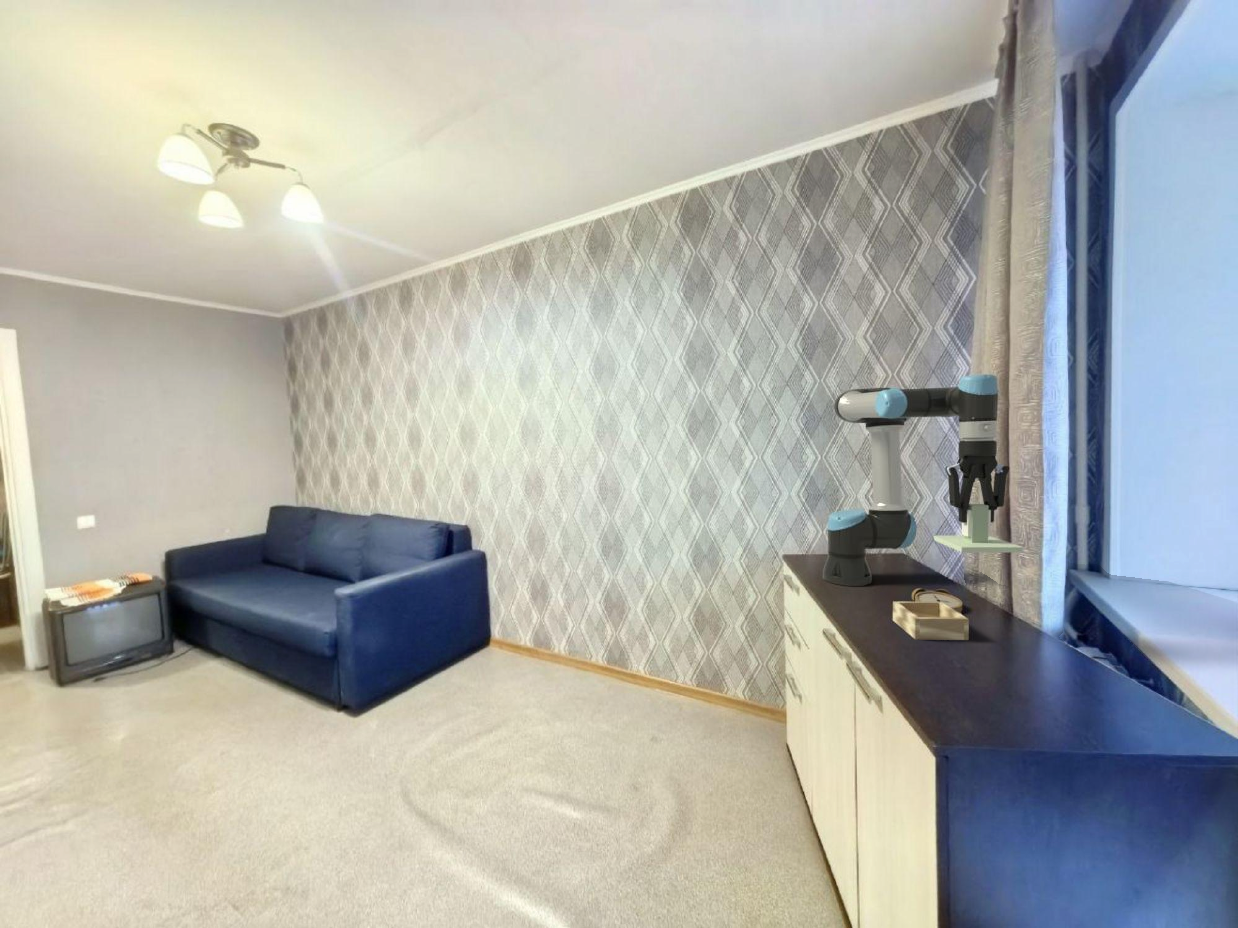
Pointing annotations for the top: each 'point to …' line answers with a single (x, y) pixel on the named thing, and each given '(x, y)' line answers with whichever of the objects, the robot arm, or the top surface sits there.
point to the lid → (978, 535)
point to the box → (931, 621)
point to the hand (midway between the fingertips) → (975, 535)
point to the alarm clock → (937, 598)
